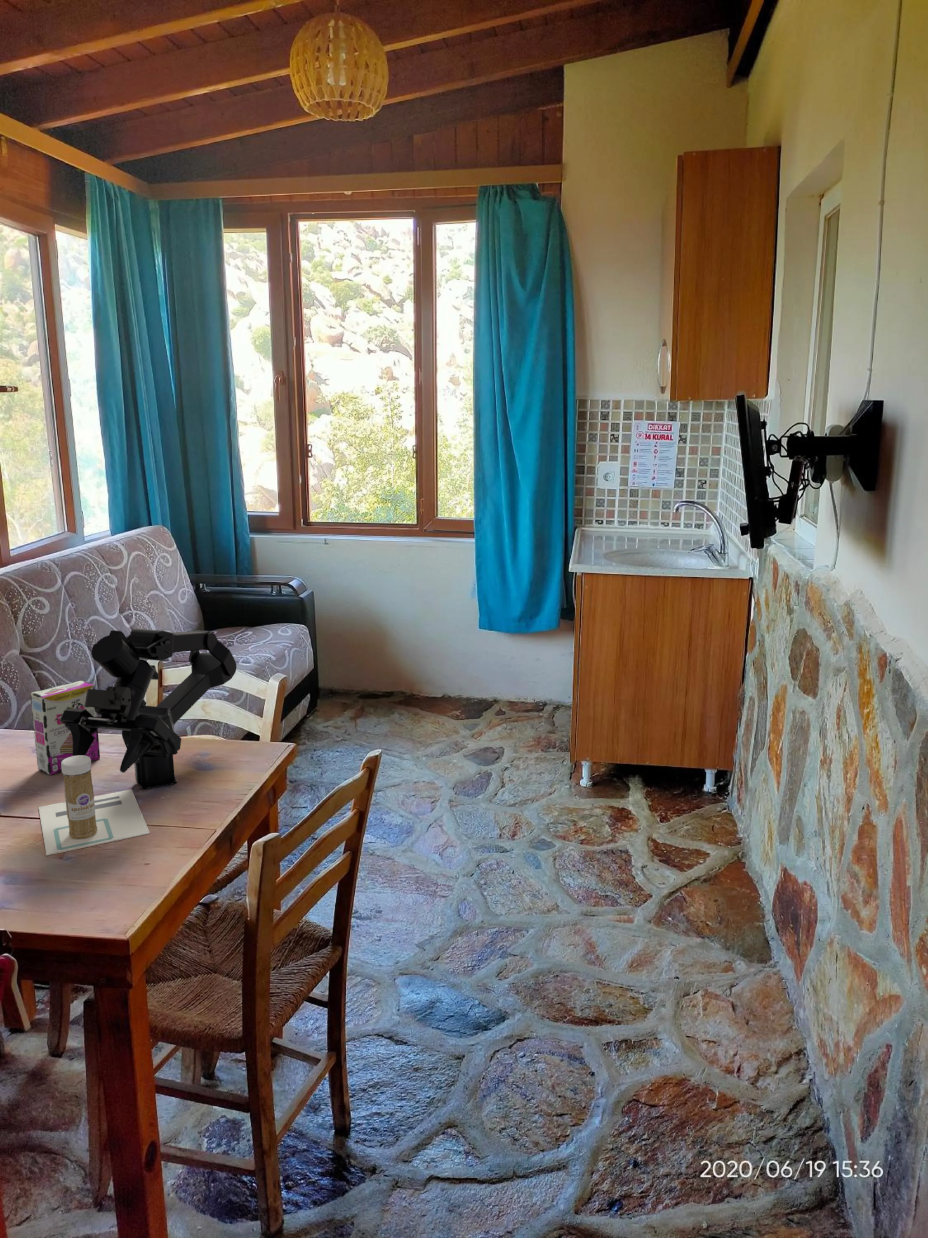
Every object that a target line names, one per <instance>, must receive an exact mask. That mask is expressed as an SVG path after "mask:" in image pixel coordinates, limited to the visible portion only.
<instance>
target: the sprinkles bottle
mask: <svg viewBox="0 0 928 1238" xmlns="http://www.w3.org/2000/svg"><path fill="white" fill-rule="evenodd" d="M61 768H62V771H61V773H62V776H63V785H64V798H65V802H66V809H67V818H68V822H69V835H70V837H72V838H86V837H89V836H92V835H94V834H95V833H96V832H97V826H96V817H95V802H94V796H95V793H94V786H93V778H92V761H91V759H90V757H88V756H84V755H78V756H72V757H68V758H66V759H64V760H63V761H62V762H61Z"/></svg>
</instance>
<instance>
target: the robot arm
mask: <svg viewBox="0 0 928 1238" xmlns="http://www.w3.org/2000/svg"><path fill="white" fill-rule="evenodd" d="M202 650H203V651H206V652H201V651H202ZM207 651H208V652H207ZM185 652H189V656H188V661H189V664H190V665H191V667H190V668H191V673H190V674H189V675H188V676H187V677H185V679H184V680H183V681H181V683H179V684H178V685H177V687H175V688H174V689H173V690H171V692H170V693H169V694H168V695H167V696H165V697H164V699H162V700H161V701H160V702H159V703H158V704H157V705H155V706H154V705H153V706H152V705H147V702H146V701H145V700H144V699H145V696H146V694H147V691H148V689H149V686H150V683H151V681H152V680H153V681H154V680H156V681H157V680H159V679H160V677H159V672H158V671H157V668H156V665H155V664H153V665H151V664H150V663H149V662H148V661H157V662H162V661H165V660H168V659H169V658H172V657H173V655H174V654H176V653H185ZM91 658H93V660H94V661H95V662H96V663H97V664H98V665H99V666H100V667H102V669H103V670H105V672H107V673H108V674H109V675H110V676H111V677H113V678H116V679H115V682H114V684H113V686H108V687H107V688H106V689H97V688H95V689H87V695H86V700H85V706H84V707H94V708H96V709H95V712H96V713H97V715H101V716H97V717H94V716H93V715H91V714H90V713H89V712H88V711H87V710H85V709H73V708H69V709H67V710H65V711H64V712H63V714H62V716H61V719H60V722H62V723H63V724H64V725H65V727H66V728H67V729H69V730H70V731H71V734H72V739H73V756H78V755H84V756H85V755H86V753H87V751H88V750H89V748H90V746H91V744H92V743H93V741H94V739H95V737H94V736H92V735H93V734H94V733H96V732H97V729H98V730H99V729H102V730H115V731H121V738H122V740H123V743H124V745H125V747H126V750H125V753H124V756H123V757H122V760H121V762H120V763H121V764H120V768H119V771H120V772H121V773H123V774H124V773H126V772H127V771H128V770H129V769H130V768H131V767H132V766H133V765H134V776H135V781H136V783H137V785H139V786H140V788H141V790H149V789H154V788H159V787H164V786H165V787H166V786H169V785H174V784H177V783H178V779H177V778H176V776H175V764H174V755H177V754H178V751H179V750H180V749H181V745H182V744H181V743H182V738H181V736H179V734H177V733H176V732H175V725H176V724H177V722H178V721H179V720H180V719H181V718H182V717H183V716H184V715H186V713H188V711H189V710H190V709H191V708H192V707H193V706H194V705H195V704H196V703H197V702H198V701H199V700H200V699H201V698H202V697H203V696H204V695H205V694H206V693H207V692H208V691H209V690H210V689H212V688H213V689H214V688H216V687H220V686H223V685H225V684H226V683H228V682H229V681H231V679H232V678H233V677H234V675H236V672H237V662H236V660H235V658H234V656H233V654H232V652H231V650H230V649H229V648H228V647H226V646H225V645H224V644H223V643H222V642H221V641H219V640H218V637H217V636H216V634H215V632H212V631H210V630H198V629H195V630H194V629H193V630H190V631H180V632H177V631H176V632H172V631H171V632H170V631H167V630H158V629H157V630H156V629H146V628H143V629H142V628H133V629H132V630H130V633H129V634H128V635H125V633H124V632H123V631H122V630H114V629H111V630H110V633H109V634H108V635H106V636H103V637H101V638H100V639H99V640H98V641H97V642H96V643H94V645H92V648H91Z"/></svg>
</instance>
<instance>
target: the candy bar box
mask: <svg viewBox="0 0 928 1238" xmlns="http://www.w3.org/2000/svg"><path fill="white" fill-rule="evenodd" d="M87 689H96V688H95V684H93V683H91V682H87V681H84V680H78V681H74V682H70V683H67V684H66V683H65V684H62V685H58V686H54V687H49V688H45V689H41V690H38V691H37V690H36V691H33V692H30V703H31V712H32V713H31V714H32V722H33V730H34V731H33V732H34V743H35V745H34V746H35V751H36V752H35V754H36V762H37V763H36V765H37V769H38V770H39V772H43V773H45V774H46V775H48V776H51V775H52V776H53V775H54V774H57V773H62V768H61V762H62V761H63V760H64V759H66V758H68V757H72V756H73V739H72V734H71V731H70V730H69V729H67V728H66V727H65V725H64V724H63V723H62V722H60V719H61V716H62V714H63V712H64V711H65V710H67V709H69V708H73V709H85V710H87V711H88V712H89V713H90V714H91V715H93V716H94V717H98V714H97V713H96V712H95V709H96V708H94V707H84V706H85V700H86V695H87ZM92 736H94V737H95V739H94V741H93V743H92V744H91V746H90V748H89V750H88V751H87V753H86V755H85V756H88V757H90V759H91V762H94V761H96V760H100V759H101V755H100V739H99V738H100V737H99V728H98V729H97V732H96V733H94V734H93V735H92Z"/></svg>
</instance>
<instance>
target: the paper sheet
mask: <svg viewBox="0 0 928 1238" xmlns="http://www.w3.org/2000/svg"><path fill="white" fill-rule="evenodd" d="M94 802H95V817H96V826H97V832H96V833H95V834H94V835H92V836H89V837H86V838H72V837H70V835H69V822H68V818H67V809H66V801H64V802H57V803H51V804H48V805H43V806H42V805H41V806H38V811H39V818H40V823H41V830H42V836H43V842H44V848H45V855H46V856H47V857H48V856H52V855H56V854H61V853H64V852H65V853H66V852H70V851H75V850H79V849H84V848H89V847H94V846H98V845H104V844H107V843H112V842H117V841H120V840H121V841H122V840H126V839H131V838H135V837H140V836H146V835H149V834H151V833H150V830H149V828H148V825H147V823H146V820H145V818H144V816H143V813H142V811H141V809H140V805H139V804H138V802H137V799H136V797H135V794H134V792H133V789H127V790H122V791H121V790H120V791H116V792H112V793H111V792H110V793H105V794H100V795H94Z"/></svg>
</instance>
